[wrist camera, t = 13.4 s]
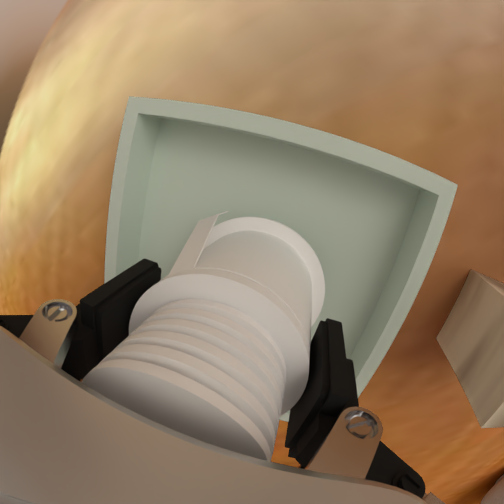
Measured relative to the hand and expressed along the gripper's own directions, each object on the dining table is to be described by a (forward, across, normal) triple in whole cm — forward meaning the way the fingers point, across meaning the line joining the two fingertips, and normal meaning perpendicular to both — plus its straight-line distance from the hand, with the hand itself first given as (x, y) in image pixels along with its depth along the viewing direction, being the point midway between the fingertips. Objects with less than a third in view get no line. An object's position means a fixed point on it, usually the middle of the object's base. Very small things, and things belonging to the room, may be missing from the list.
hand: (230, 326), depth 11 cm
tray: (+6, 0, 0) cm, 6 cm away
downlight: (+4, 0, 0) cm, 4 cm away
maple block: (+6, -15, -1) cm, 16 cm away
